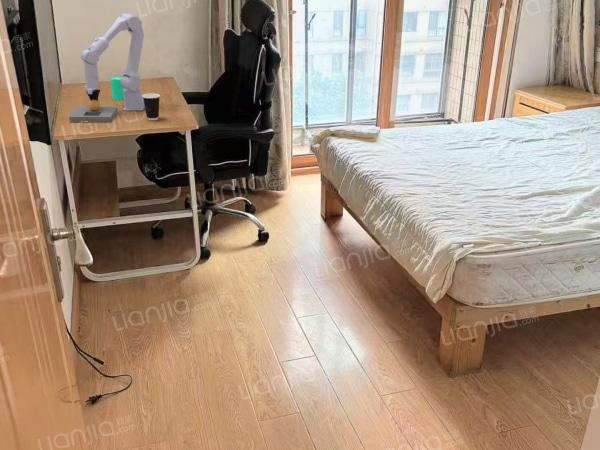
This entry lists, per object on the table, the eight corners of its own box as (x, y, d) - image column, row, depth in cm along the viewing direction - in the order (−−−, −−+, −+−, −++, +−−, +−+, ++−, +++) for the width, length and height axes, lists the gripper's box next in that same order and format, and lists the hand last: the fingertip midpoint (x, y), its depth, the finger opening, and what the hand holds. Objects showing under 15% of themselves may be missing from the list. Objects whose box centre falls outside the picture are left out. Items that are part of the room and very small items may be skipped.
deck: (117, 111, 291) (117, 106, 290) (110, 122, 275) (110, 117, 274) (79, 111, 289) (78, 106, 288) (70, 122, 273) (69, 116, 272)
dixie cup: (142, 120, 278) (140, 97, 274) (146, 116, 286) (144, 93, 281) (159, 121, 278) (157, 97, 274) (163, 116, 286) (161, 93, 281)
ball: (101, 101, 285) (97, 98, 280) (101, 111, 284) (97, 108, 279) (90, 101, 285) (86, 98, 280) (90, 112, 284) (87, 109, 279)
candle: (112, 100, 311) (110, 76, 305) (112, 97, 316) (110, 74, 311) (124, 99, 312) (122, 76, 307) (124, 97, 317) (122, 74, 312)
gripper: (86, 73, 285) (89, 101, 290) (79, 79, 272) (82, 109, 277) (101, 73, 285) (104, 102, 291) (95, 80, 272) (98, 109, 278)
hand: (94, 105), depth 284 cm, fingers closed, pressing on ball
